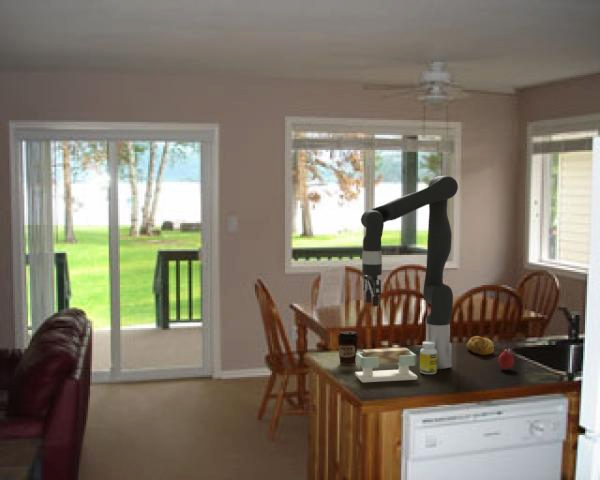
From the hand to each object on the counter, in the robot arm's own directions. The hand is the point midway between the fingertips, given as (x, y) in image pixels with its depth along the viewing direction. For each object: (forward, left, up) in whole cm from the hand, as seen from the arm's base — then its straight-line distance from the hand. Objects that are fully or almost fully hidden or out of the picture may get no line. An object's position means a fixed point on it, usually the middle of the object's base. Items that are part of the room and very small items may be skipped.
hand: (371, 304), depth 251 cm
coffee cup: (+7, -11, -26) cm, 29 cm away
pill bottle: (-20, +7, -26) cm, 34 cm away
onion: (-51, +9, -26) cm, 58 cm away
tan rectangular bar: (-2, +10, -20) cm, 23 cm away
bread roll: (-54, -19, -26) cm, 63 cm away
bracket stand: (-2, +10, -26) cm, 28 cm away
